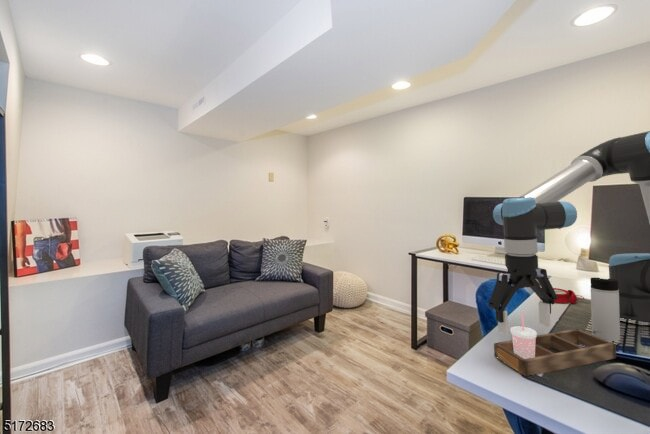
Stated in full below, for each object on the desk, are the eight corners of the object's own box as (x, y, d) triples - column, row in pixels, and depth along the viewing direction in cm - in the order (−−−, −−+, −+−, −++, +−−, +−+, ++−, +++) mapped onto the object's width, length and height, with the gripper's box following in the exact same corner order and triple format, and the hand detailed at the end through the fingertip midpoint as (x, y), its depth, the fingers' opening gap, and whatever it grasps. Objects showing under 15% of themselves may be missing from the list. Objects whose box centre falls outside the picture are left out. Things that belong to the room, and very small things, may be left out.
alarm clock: (536, 287, 134) (577, 282, 126) (540, 300, 133) (582, 296, 125) (538, 293, 125) (582, 289, 117) (542, 308, 124) (587, 304, 116)
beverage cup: (512, 354, 86) (510, 307, 85) (538, 359, 82) (536, 311, 81) (510, 364, 81) (508, 315, 80) (538, 370, 77) (536, 318, 76)
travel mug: (592, 342, 89) (590, 278, 88) (592, 334, 94) (590, 273, 93) (621, 348, 85) (619, 281, 84) (619, 339, 90) (618, 276, 89)
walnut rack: (576, 341, 91) (576, 328, 91) (616, 358, 80) (615, 344, 80) (493, 356, 85) (492, 343, 85) (523, 377, 75) (523, 362, 75)
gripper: (546, 247, 86) (549, 317, 87) (471, 256, 81) (475, 330, 82) (572, 250, 78) (575, 327, 79) (491, 261, 74) (495, 342, 75)
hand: (524, 329), depth 81 cm, fingers open, 13 cm apart
